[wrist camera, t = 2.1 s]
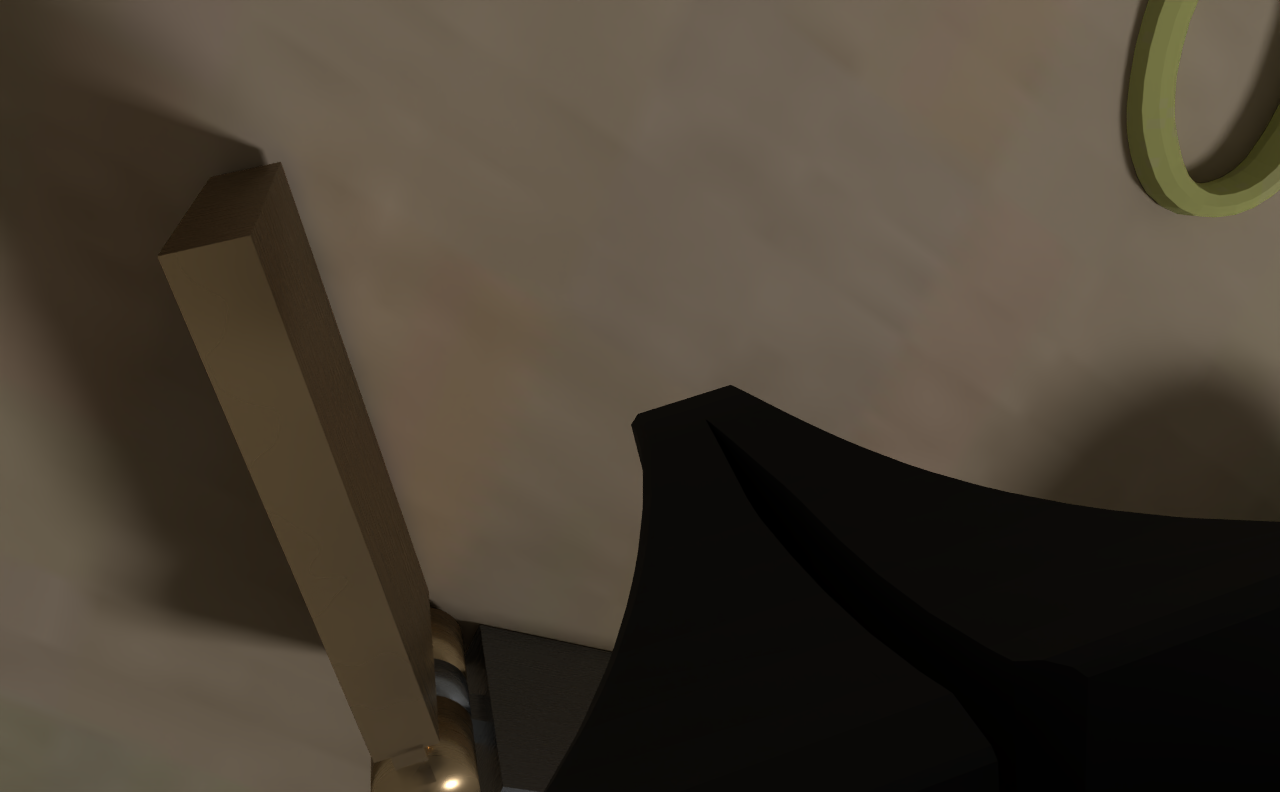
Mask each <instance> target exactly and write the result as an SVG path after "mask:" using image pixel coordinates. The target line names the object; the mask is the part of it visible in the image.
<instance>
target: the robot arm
mask: <svg viewBox="0 0 1280 792" xmlns="http://www.w3.org/2000/svg"><path fill="white" fill-rule="evenodd" d="M631 426H632V430H633V434H634V438H635V442H636V445H637V449H638V453H639V457H640V461H641V465H642V469H643V511H642V521H641V530H640V539H639V548H638V555H637V561H636V566H635V572H634V577H633V582H632V586H631V590H630V594H629V599H628V603H627V607H626V610H625V613H624V617H623V620H622V623H621V627H620V630H619V633H618V636H617V640H616V643H615V646H614V649H613V652H612V654H611V657H610V660H609V663H608V665H607V668H606V670H605V672H604V675H603V677H602V679H601V682H600V684H599V686H598V688H597V691H596V693H595V695H594V698H593V700H592V702H591V704H590V707H589V709H588V711H587V713H586V716H585V718H584V720H583V722H582V724H581V726H580V728H579V730H578V732H577V734H576V736H575V738H574V740H573V742H572V743H571V745H570V747H569V749H568V750H567V752H566V754H565V756H564V757H563V759H562V761H561V763H560V764H559V766H558V768H557V769H556V771H555V773H554V775H553V776H552V778H551V780H550V782H549V783H548V785H547V787H546V789H545V790H544V792H1280V522H1269V521H1246V520H1223V519H1199V518H1182V517H1170V516H1161V515H1152V514H1142V513H1133V512H1124V511H1114V510H1107V509H1100V508H1093V507H1086V506H1079V505H1072V504H1066V503H1061V502H1056V501H1050V500H1045V499H1040V498H1035V497H1030V496H1024V495H1019V494H1014V493H1009V492H1005V491H1001V490H996V489H992V488H988V487H983V486H979V485H976V484H972V483H969V482H965V481H962V480H958V479H954V478H951V477H947V476H944V475H940V474H937V473H933V472H930V471H927V470H924V469H921V468H917V467H914V466H911V465H908V464H906V463H903V462H900V461H897V460H895V459H892V458H889V457H887V456H884V455H882V454H879V453H876V452H874V451H871V450H868V449H866V448H863V447H861V446H858V445H856V444H854V443H851V442H849V441H846V440H844V439H842V438H839V437H837V436H835V435H833V434H830V433H828V432H826V431H824V430H822V429H819V428H817V427H815V426H813V425H811V424H809V423H807V422H804V421H802V420H800V419H798V418H796V417H794V416H792V415H790V414H788V413H786V412H784V411H782V410H780V409H778V408H776V407H774V406H772V405H770V404H768V403H766V402H764V401H762V400H760V399H758V398H756V397H754V396H752V395H750V394H748V393H746V392H744V391H742V390H740V389H738V388H736V387H734V386H732V385H729V386H726V387H722V388H719V389H716V390H713V391H710V392H707V393H703V394H700V395H697V396H694V397H691V398H687V399H684V400H681V401H678V402H675V403H672V404H668V405H665V406H662V407H659V408H656V409H652V410H649V411H646V412H643V413H640V414H638V415H637V416H636V418H635V420H634V421H633V423H632V424H631Z"/></svg>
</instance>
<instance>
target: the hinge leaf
mask: <svg viewBox="0 0 1280 792" xmlns="http://www.w3.org/2000/svg"><path fill="white" fill-rule="evenodd" d="M157 257H158V259H159V262H160V264H161V266H162V269H163V271H164V273H165V276H166V278H167V280H168V283H169V285H170V287H171V290H172V292H173V294H174V297H175V299H176V301H177V304H178V306H179V308H180V311H181V313H182V315H183V318H184V320H185V323H186V325H187V327H188V330H189V332H190V334H191V337H192V339H193V341H194V344H195V346H196V348H197V351H198V353H199V355H200V358H201V360H202V362H203V365H204V367H205V369H206V372H207V374H208V376H209V379H210V381H211V383H212V386H213V388H214V390H215V393H216V395H217V397H218V400H219V402H220V404H221V407H222V409H223V411H224V414H225V416H226V418H227V421H228V423H229V425H230V428H231V430H232V432H233V435H234V437H235V439H236V442H237V444H238V446H239V449H240V451H241V453H242V456H243V458H244V460H245V463H246V465H247V468H248V470H249V472H250V475H251V477H252V479H253V482H254V484H255V486H256V489H257V491H258V493H259V496H260V498H261V500H262V503H263V505H264V507H265V510H266V512H267V514H268V517H269V519H270V521H271V524H272V526H273V528H274V531H275V533H276V535H277V538H278V540H279V542H280V545H281V547H282V549H283V552H284V554H285V556H286V559H287V561H288V563H289V566H290V568H291V570H292V573H293V575H294V577H295V580H296V582H297V584H298V587H299V589H300V591H301V594H302V596H303V598H304V601H305V603H306V605H307V608H308V610H309V612H310V615H311V617H312V620H313V622H314V624H315V627H316V629H317V631H318V634H319V636H320V638H321V641H322V643H323V645H324V648H325V650H326V652H327V655H328V657H329V659H330V662H331V664H332V666H333V669H334V671H335V673H336V676H337V678H338V680H339V683H340V685H341V687H342V690H343V692H344V694H345V697H346V699H347V701H348V704H349V706H350V708H351V711H352V713H353V715H354V718H355V720H356V722H357V725H358V727H359V729H360V732H361V734H362V736H363V739H364V741H365V743H366V746H367V748H368V750H369V753H370V755H371V792H480V784H479V775H478V767H477V758H476V750H475V741H474V732H473V724H472V719H471V717H470V715H469V713H468V712H467V710H466V709H465V708H464V707H463V706H462V705H461V704H459V703H458V702H456V701H454V700H452V699H450V698H446V697H443V696H437V695H436V683H435V669H434V658H435V659H440V660H444V661H446V662H449V663H451V664H453V665H454V666H456V667H457V668H458V669H459V670H460V671H461V672H462V673H463V674H464V676H465V678H466V680H467V672H466V664H465V655H464V646H463V638H462V632H461V629H460V626H459V625H458V623H457V621H456V620H455V619H454V618H453V617H452V616H450V615H449V614H447V613H446V612H444V611H442V610H439V609H436V608H431V607H430V601H429V590H428V587H427V585H426V582H425V579H424V576H423V573H422V570H421V567H420V564H419V561H418V558H417V556H416V553H415V550H414V547H413V544H412V541H411V538H410V535H409V532H408V529H407V527H406V524H405V521H404V518H403V515H402V512H401V509H400V506H399V503H398V500H397V497H396V495H395V492H394V489H393V486H392V483H391V480H390V477H389V474H388V471H387V468H386V466H385V463H384V460H383V457H382V454H381V451H380V448H379V445H378V442H377V439H376V437H375V434H374V431H373V428H372V425H371V422H370V419H369V416H368V413H367V410H366V408H365V405H364V402H363V399H362V396H361V393H360V390H359V387H358V384H357V381H356V378H355V376H354V373H353V370H352V367H351V364H350V361H349V358H348V355H347V352H346V349H345V347H344V344H343V341H342V338H341V335H340V332H339V329H338V326H337V323H336V320H335V318H334V315H333V312H332V309H331V306H330V303H329V300H328V297H327V294H326V291H325V288H324V286H323V283H322V280H321V277H320V274H319V271H318V268H317V265H316V262H315V259H314V257H313V254H312V251H311V248H310V245H309V242H308V239H307V236H306V233H305V230H304V228H303V225H302V222H301V219H300V216H299V213H298V210H297V207H296V204H295V201H294V198H293V196H292V193H291V190H290V187H289V184H288V181H287V178H286V175H285V172H284V169H283V167H282V164H281V162H278V163H273V164H269V165H264V166H260V167H255V168H250V169H246V170H241V171H236V172H232V173H227V174H222V175H218V176H213V177H210V179H209V180H208V182H207V183H206V185H205V186H204V187H203V189H202V190H201V192H200V193H199V195H198V196H197V198H196V199H195V201H194V202H193V204H192V205H191V207H190V208H189V210H188V211H187V213H186V214H185V216H184V217H183V219H182V220H181V222H180V223H179V225H178V226H177V228H176V229H175V231H174V232H173V234H172V235H171V237H170V238H169V240H168V241H167V243H166V244H165V246H164V247H163V249H162V250H161V252H160V253H159V255H158V256H157Z"/></svg>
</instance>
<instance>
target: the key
mask: <svg viewBox="0 0 1280 792" xmlns="http://www.w3.org/2000/svg"><path fill="white" fill-rule="evenodd" d="M1197 2H1198V0H1149V1H1148V4H1147V7H1146V10H1145V13H1144V16H1143V20H1142V23H1141V27H1140V31H1139V35H1138V39H1137V42H1136V46H1135V51H1134V57H1133V63H1132V69H1131V74H1130V81H1129V90H1128V100H1127V136H1128V143H1129V149H1130V155H1131V158H1132V161H1133V164H1134V167H1135V171H1136V174H1137V177H1138V179H1139V180H1140V182H1141V184H1142V186H1143V188H1144V190H1145V191H1146V193H1147V194H1148V195H1149V196H1151V197H1152V198H1153V199H1154V200H1155V201H1156V202H1157V203H1158V204H1159V205H1161V206H1162V207H1164V208H1166V209H1168V210H1170V211H1172V212H1174V213H1177V214H1183V215H1192V216H1204V217H1221V216H1229V215H1235V214H1238V213H1241V212H1243V211H1246V210H1249V209H1251V208H1254V207H1255V206H1257V205H1259V204H1260V203H1262V202H1263V201H1265V200H1267V199H1268V198H1270V197H1271V196H1273V195H1274V194H1275V193H1276V192H1277V191H1279V190H1280V103H1279V106H1278V107H1277V109H1276V111H1275V113H1274V115H1273V117H1272V119H1271V120H1270V122H1269V124H1268V126H1267V128H1266V130H1265V131H1264V133H1263V134H1262V136H1261V137H1260V139H1259V140H1258V141H1257V143H1256V144H1255V146H1254V147H1253V149H1252V150H1251V152H1250V153H1249V154H1248V156H1247V157H1246V158H1245V159H1244V160H1243V161H1242V162H1241V163H1240V164H1239V165H1238V166H1237V167H1236V168H1235V169H1234V170H1232V171H1231V172H1229V173H1228V174H1226V175H1225V176H1223V177H1221V178H1219V179H1216V180H1213V181H1210V182H1206V183H1197V182H1194V181H1193V180H1192V179H1191V178H1190V177H1189V175H1188V172H1187V170H1186V167H1185V165H1184V163H1183V159H1182V155H1181V151H1180V147H1179V143H1178V137H1177V131H1176V125H1175V90H1176V76H1177V71H1178V67H1179V62H1180V57H1181V52H1182V48H1183V44H1184V40H1185V37H1186V33H1187V30H1188V26H1189V22H1190V19H1191V17H1192V15H1193V12H1194V10H1195V7H1196V5H1197Z"/></svg>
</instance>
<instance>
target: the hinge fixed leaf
mask: <svg viewBox="0 0 1280 792" xmlns="http://www.w3.org/2000/svg"><path fill="white" fill-rule="evenodd" d="M611 654H612V652H607V651H603V650H598V649H593V648H588V647H584V646H579V645H574V644H569V643H565V642H560V641H555V640H550V639H546V638H541V637H536V636H531V635H527V634H522V633H517V632H512V631H508V630H503V629H498V628H493V627H489V626H484V625H480V626H479V628H478V630H477V632H476V634H475V636H474V638H473V641H472V643H471V645H470V647H469V649H468V651H467V653H466V656H465V664H466V672H467V680H466V678H465V676H464V674H463V673H462V672H461V671H460V670H459V669H458V668H457V667H456V666H454V665H453V664H451V663H449V662H446V661H444V660H440V659H435V658H434V669H435V683H436V695H437V696H443V697H446V698H450V699H452V700H454V701H456V702H458V703H459V704H461V705H462V706H463V707H464V708H465V709H466V710H467V712H468V713H469V715H470V717H471V719H472V724H473V732H474V741H475V750H476V758H477V767H478V775H479V784H480V792H544V790H545V789H546V787H547V785H548V783H549V782H550V780H551V778H552V776H553V775H554V773H555V771H556V769H557V768H558V766H559V764H560V763H561V761H562V759H563V757H564V756H565V754H566V752H567V750H568V749H569V747H570V745H571V743H572V742H573V740H574V738H575V736H576V734H577V732H578V730H579V728H580V726H581V724H582V722H583V720H584V718H585V716H586V713H587V711H588V709H589V707H590V704H591V702H592V700H593V698H594V695H595V693H596V691H597V688H598V686H599V684H600V682H601V679H602V677H603V675H604V672H605V670H606V668H607V665H608V663H609V660H610V657H611Z"/></svg>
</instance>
